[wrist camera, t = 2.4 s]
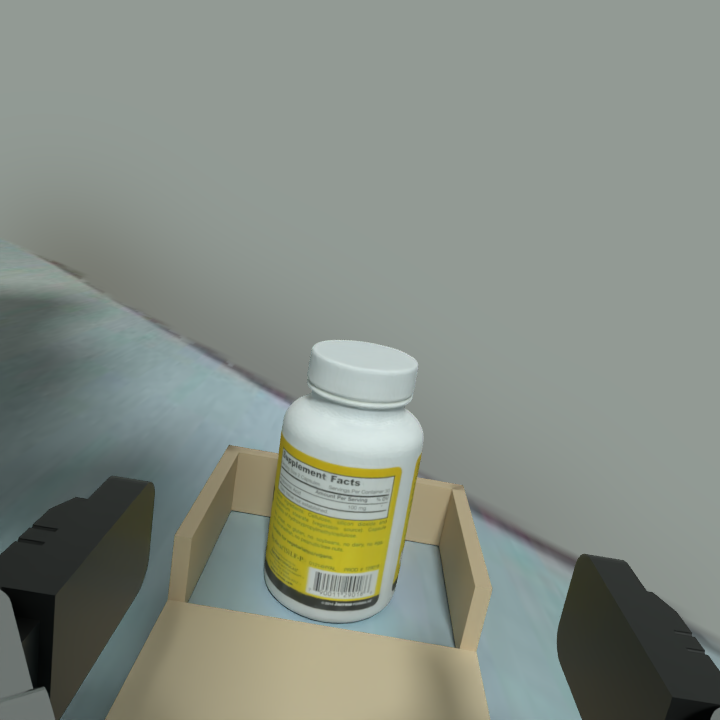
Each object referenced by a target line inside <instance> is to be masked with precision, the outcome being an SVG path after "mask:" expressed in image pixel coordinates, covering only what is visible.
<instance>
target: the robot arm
mask: <svg viewBox="0 0 720 720" xmlns="http://www.w3.org/2000/svg"><path fill="white" fill-rule="evenodd" d="M154 497H155V489H154V484H153V483H152V482H148V481H141V480H135V479H129V478H123V477H117V476H111V477H109V478H108V479H107V480H106V481H105V482H104V483H103V484H102V485H101V486H100V487H99V488H98V489H97V490H96V491H95V492H94V493H93V494H92V495H91V496H90V497H89V498H88V499H84V498H78V497H75V498H73V499H71V500H69V501H66V502H64V503H62V504H60V505H57V506H55V507H53V508H51V509H49V510H48V511H47V512H46V513H45V514H44V515H43V516H42V517H41V518H40V519H38V520H37V521H36V522H35V523H34V524H33V527H32V528H29V529H28V530H27V531H26V532H24V533H23V534H22V535H21V536H20V537H19V539H18V542H17V541H15V542H14V543H13V544H11V545H10V546H9V547H8V548H7V549H6V550H5V551H4V552H3V553H2V554H1V555H0V720H60V718H61V717H62V715H63V713H64V712H65V710H66V708H67V707H68V705H69V704H70V702H71V700H72V699H73V697H74V696H75V694H76V692H77V691H78V689H79V687H80V686H81V684H82V683H83V681H84V679H85V678H86V676H87V675H88V673H89V671H90V670H91V668H92V667H93V665H94V663H95V662H96V660H97V658H98V657H99V655H100V654H101V652H102V650H103V649H104V647H105V646H106V644H107V642H108V641H109V639H110V637H111V636H112V634H113V633H114V631H115V629H116V628H117V626H118V625H119V623H120V621H121V620H122V618H123V617H124V615H125V613H126V612H127V610H128V608H129V607H130V605H131V604H132V602H133V600H134V599H135V597H136V596H137V594H138V592H139V590H140V588H141V586H142V583H143V580H144V577H145V574H146V570H147V566H148V561H149V552H150V541H151V530H152V519H153V508H154ZM557 652H558V658H559V662H560V664H561V667H562V670H563V672H564V675H565V677H566V680H567V682H568V685H569V687H570V690H571V693H572V695H573V698H574V700H575V703H576V705H577V708H578V710H579V713H580V716H581V718H582V720H720V671H719V669H718V668H717V667H716V665H715V664H714V663H713V661H712V660H711V658H710V657H709V656H708V655H705V650H704V649H703V647H702V646H701V645H700V643H699V642H698V641H697V639H696V638H695V637H692V632H691V631H690V630H689V628H688V627H687V625H686V624H685V623H684V621H683V620H682V618H681V617H680V616H679V614H678V613H677V612H676V611H675V610H674V609H672V608H671V607H670V606H669V605H668V604H666V603H665V602H664V601H663V600H661V599H660V598H659V597H658V596H657V595H655V594H654V593H653V592H648V591H646V589H645V588H644V586H643V585H642V584H641V582H640V581H639V579H638V578H637V576H636V575H635V573H634V572H633V570H632V569H631V568H630V566H629V565H628V563H627V562H625V561H624V560H619V559H612V558H606V557H600V556H594V555H588V554H582V555H581V556H580V557H579V558H578V560H577V562H576V565H575V568H574V572H573V575H572V579H571V582H570V586H569V590H568V593H567V597H566V600H565V604H564V608H563V611H562V615H561V619H560V622H559V626H558V632H557Z"/></svg>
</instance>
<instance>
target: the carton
mask: <svg viewBox="0 0 720 720" xmlns="http://www.w3.org/2000/svg"><path fill="white" fill-rule="evenodd" d="M278 455H279V454H278V453H272V452H267V451H261V450H255V449H249V448H243V447H238V446H232V445H229V446H228V448H227V449H226V451H225V453H224V454H223V456H222V458H221V459H220V461H219V462H218V464H217V466H216V467H215V469H214V471H213V472H212V474H211V476H210V477H209V479H208V481H207V482H206V484H205V486H204V487H203V489H202V491H201V492H200V494H199V496H198V497H197V499H196V501H195V502H194V504H193V506H192V507H191V509H190V511H189V512H188V514H187V516H186V517H185V519H184V521H183V522H182V524H181V526H180V527H179V529H178V531H177V532H176V534H175V537H174V546H173V555H172V565H171V574H170V584H169V593H168V600H167V602H166V604H165V606H164V608H163V610H162V611H161V613H160V615H159V617H158V619H157V621H156V623H155V625H154V627H153V629H152V631H151V632H150V634H149V636H148V638H147V640H146V642H145V644H144V646H143V648H142V650H141V652H140V653H139V655H138V657H137V659H136V661H135V663H134V665H133V667H132V669H131V671H130V673H129V674H128V676H127V678H126V680H125V682H124V684H123V686H122V688H121V690H120V692H119V694H118V695H117V697H116V699H115V701H114V703H113V705H112V707H111V709H110V711H109V713H108V715H107V716H106V718H105V720H490V716H489V711H488V706H487V701H486V697H485V692H484V687H483V682H482V677H481V672H480V668H479V663H478V658H477V653H476V650H477V646H478V643H479V639H480V635H481V631H482V627H483V623H484V619H485V616H486V612H487V608H488V604H489V600H490V596H491V593H492V586H491V583H490V579H489V576H488V572H487V569H486V565H485V561H484V558H483V554H482V551H481V547H480V544H479V540H478V537H477V533H476V529H475V526H474V522H473V519H472V515H471V512H470V508H469V504H468V501H467V497H466V494H465V490H464V487H463V485H458V484H452V483H447V482H441V481H435V480H429V479H423V478H418V477H417V480H416V485H415V491H414V496H413V501H412V506H411V512H410V517H409V522H408V527H407V532H406V538H405V540H409V541H415V542H420V543H426V544H432V545H438V546H439V549H440V555H441V561H442V567H443V573H444V579H445V585H446V591H447V597H448V604H449V610H450V616H451V622H452V628H453V634H454V640H455V646H456V648H452V647H447V646H441V645H435V644H429V643H423V642H417V641H411V640H405V639H399V638H393V637H387V636H381V635H375V634H370V633H364V632H358V631H352V630H346V629H340V628H334V627H328V626H322V625H316V624H310V623H304V622H299V621H293V620H287V619H281V618H275V617H269V616H263V615H257V614H251V613H245V612H239V611H233V610H227V609H222V608H216V607H210V606H204V605H198V604H192V603H188V601H189V599H190V597H191V594H192V592H193V590H194V588H195V586H196V584H197V582H198V580H199V577H200V575H201V573H202V571H203V569H204V567H205V565H206V563H207V561H208V558H209V556H210V554H211V552H212V550H213V548H214V546H215V544H216V541H217V539H218V537H219V535H220V533H221V531H222V529H223V527H224V524H225V522H226V520H227V518H228V516H229V514H230V512H231V510H233V511H239V512H245V513H251V514H257V515H262V516H268V517H271V508H272V502H273V493H274V486H275V478H276V470H277V463H278Z"/></svg>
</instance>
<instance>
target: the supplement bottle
mask: <svg viewBox="0 0 720 720" xmlns="http://www.w3.org/2000/svg"><path fill="white" fill-rule="evenodd" d="M417 371H418V363H417V361H416V360H415V359H414V358H413V357H412V356H410V355H408V354H406V353H404V352H402V351H400V350H397V349H393V348H391V347H386V346H383V345H378V344H373V343H368V342H361V341H351V340H329V341H323V342H319V343H317V344H315V345H314V346H313V348H312V350H311V357H310V363H309V368H308V374H307V376H308V380H307V384H308V386H309V387H310V389H311V390H312V393H310V394H307V395H305V396H302V397H300V398H299V399H297V400H296V401H295V402H293V403H292V404H291V405H290V407H289V408H288V409H287V411H286V413H285V416H284V420H283V426H282V432H281V439H280V447H279V455H278V463H277V470H276V478H275V486H274V493H273V502H272V508H271V517H270V524H269V532H268V540H267V547H266V557H265V567H264V574H265V581H266V584H267V586H268V588H269V590H270V592H271V593H272V594H273V596H274V597H275V598H276V599H277V600H278V601H279V602H280V603H281V604H282V605H284V606H285V607H287V608H288V609H290V610H292V611H293V612H295V613H297V614H299V615H302V616H304V617H307V618H310V619H313V620H317V621H322V622H330V623H349V622H356V621H360V620H363V619H366V618H369V617H371V616H373V615H375V614H377V613H379V612H380V611H381V610H382V609H384V608H385V607H386V606H387V605H388V603H389V602H390V600H391V599H392V597H393V594H394V591H395V587H396V583H397V579H398V574H399V569H400V564H401V559H402V553H403V548H404V543H405V538H406V532H407V527H408V522H409V517H410V512H411V506H412V501H413V496H414V491H415V485H416V480H417V475H418V470H419V465H420V460H421V454H422V447H423V430H422V428H421V425H420V423H419V421H418V420H417V419H416V417H415V416H414V415H413V414H412V413H411V412H409V411H408V410H407V409H405V405H407V404H408V403H410V402H411V400H412V398H413V393H414V389H415V383H416V376H417Z"/></svg>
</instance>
